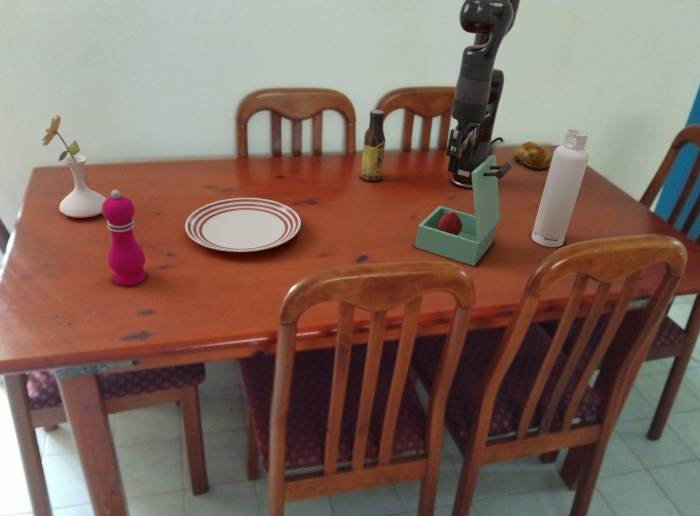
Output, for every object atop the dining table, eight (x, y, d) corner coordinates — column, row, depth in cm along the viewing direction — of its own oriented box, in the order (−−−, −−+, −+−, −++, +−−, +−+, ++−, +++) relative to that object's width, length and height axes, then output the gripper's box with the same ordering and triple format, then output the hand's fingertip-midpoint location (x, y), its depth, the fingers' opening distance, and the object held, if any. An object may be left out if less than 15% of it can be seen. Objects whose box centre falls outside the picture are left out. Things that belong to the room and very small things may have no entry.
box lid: (471, 172, 130) (497, 172, 127) (491, 154, 140) (515, 153, 137) (477, 241, 137) (501, 242, 134) (495, 219, 147) (518, 219, 145)
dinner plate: (204, 271, 130) (203, 258, 129) (173, 217, 150) (172, 205, 148) (319, 249, 142) (319, 237, 140) (276, 202, 162) (276, 190, 160)
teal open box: (414, 247, 146) (418, 225, 143) (436, 226, 156) (439, 205, 153) (474, 266, 141) (479, 243, 137) (492, 242, 151) (497, 221, 148)
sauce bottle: (379, 183, 177) (386, 116, 166) (358, 180, 178) (364, 113, 166) (382, 175, 182) (389, 109, 171) (362, 172, 183) (368, 107, 172)
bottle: (524, 236, 155) (552, 130, 139) (544, 229, 159) (573, 125, 144) (550, 250, 150) (582, 141, 134) (569, 242, 154) (602, 135, 138)
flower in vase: (82, 198, 155) (62, 101, 141) (119, 207, 153) (103, 109, 139) (45, 219, 145) (20, 116, 131) (84, 229, 142) (63, 125, 128)
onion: (461, 237, 150) (467, 208, 146) (455, 247, 146) (461, 217, 141) (439, 231, 152) (444, 203, 147) (432, 241, 147) (437, 211, 143)
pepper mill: (116, 268, 129) (100, 181, 118) (150, 269, 130) (138, 183, 118) (107, 287, 123) (90, 197, 112) (144, 287, 124) (130, 198, 112)
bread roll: (506, 158, 202) (511, 135, 197) (528, 155, 206) (533, 132, 201) (532, 173, 192) (538, 149, 188) (554, 169, 197) (561, 145, 192)
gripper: (476, 108, 126) (463, 180, 135) (497, 93, 136) (483, 161, 146) (443, 101, 129) (432, 172, 138) (466, 86, 139) (454, 153, 148)
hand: (458, 166), depth 142 cm, fingers open, 8 cm apart
